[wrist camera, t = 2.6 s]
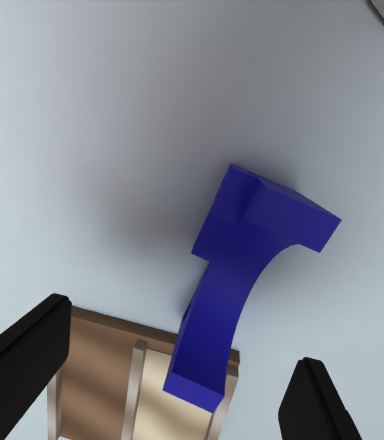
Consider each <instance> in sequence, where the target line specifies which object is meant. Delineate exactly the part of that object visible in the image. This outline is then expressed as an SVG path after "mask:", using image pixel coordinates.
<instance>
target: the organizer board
mask: <svg viewBox="0 0 384 440" xmlns="http://www.w3.org/2000/svg"><path fill="white" fill-rule="evenodd" d="M177 336H178V335H175V334H172V333H168V332H164V331H161V330H157V329H153V328H150V327H146V326H142V325H139V324H135V323H131V322H128V321H124V320H120V319H117V318H113V317H109V316H105V315H102V314H98V313H94V312H91V311H87V310H83V309H80V308H76V307H71V326H70V345H69V354H68V357H67V359H66V361H65V362H64V364H63V365H62V366H61V368H60V369H59V370H58V371H57V373H56V374H55V375H54V377H53V378H52V379H51V380H50V382H49V383H48V384H47V410H48V440H58V438H59V436H61V437H64V438H68V439H71V440H218V438H219V435H220V432H221V429H222V426H223V423H224V420H225V417H226V414H227V411H228V408H229V405H230V402H231V399H232V396H233V393H234V390H235V387H236V384H237V381H238V367H239V364H240V358H239V352H238V351H234V350H231V349H230V353H229V359H228V365H227V372H226V381H225V397H224V398H223V400H222V401H221V403H220V404H219V406H218V407H217V409H216V410H215V412H214V413H213V414H212V413H210V412H208V411H206V410H204V409H201V408H199V407H197V406H195V405H193V404H191V403H188V402H186V401H184V400H182V399H180V398H178V397H175V396H173V395H171V394H169V393H167V392H165V391H162V389H163V386H164V382H165V379H166V375H167V372H168V368H169V364H170V361H171V357H172V354H173V350H174V346H175V343H176V339H177Z"/></svg>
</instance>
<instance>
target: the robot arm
mask: <svg viewBox="0 0 384 440" xmlns="http://www.w3.org/2000/svg"><path fill="white" fill-rule="evenodd" d="M371 1H372V3H373V4H374V6H375V7H376V8H377V10H378V11H379V12H380V14H381V15H382V16H383V18H384V0H371ZM71 307H72V303H71V301H69V298H68V297H67V296H64V295H60V294H56V293H53V294H51V295H50V296H49V297H47V298H46V299H45V300H44V301H42V302H41V303H40V304H38V305H37V306H36V307H35V308H33V309H32V310H31V311H30V312H28V313H27V314H26V315H25V316H23V317H22V318H21V319H19V320H18V321H17V322H16V323H14V324H13V325H12V326H10V327H9V328H8V329H7V330H5V331H4V332H3V333H1V334H0V440H4V439H5V438H6V437H7V436H8V434H9V433H10V432H11V430H12V429H13V428H14V427H15V425H16V424H17V423H18V421H19V420H20V419H21V418H22V416H23V415H24V414H25V412H26V411H27V410H28V409H29V407H30V406H31V405H32V403H33V402H34V401H35V400H36V398H37V397H38V396H39V395H40V393H41V392H42V391H43V389H44V388H45V387H46V386H47V384H48V383H49V382H50V380H51V379H52V378H53V377H54V375H55V374H56V373H57V371H58V370H59V369H60V368H61V366H62V365H63V364H64V362H65V361H66V359H67V357H68V354H69V345H70V326H71ZM278 420H279V425H280V430H281V435H282V439H283V440H362V438H361V436H360V434H359V432H358V430H357V428H356V426H355V424H354V422H353V420H352V418H351V416H350V414H349V413H348V411H347V410H346V409H345V407H344V405H343V403H342V401H341V399H340V397H339V395H338V393H337V390H336V388H335V386H334V384H333V382H332V380H331V378H330V376H329V374H328V372H327V370H326V368H325V366H324V364H323V362H322V361H320V360H316V359H312V358H308V357H304V358H303V360H299V361H298V362H297V365H296V367H295V370H294V373H293V375H292V378H291V380H290V383H289V385H288V388H287V390H286V393H285V395H284V398H283V400H282V403H281V405H280V408H279V412H278Z"/></svg>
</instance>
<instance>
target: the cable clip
mask: <svg viewBox="0 0 384 440" xmlns="http://www.w3.org/2000/svg"><path fill="white" fill-rule="evenodd" d="M340 222H341V219H340V218H338V217H336V216H335V215H333V214H332V213H330V212H329V211H327V210H325V209H324V208H322V207H321V206H319V205H317V204H316V203H314V202H313V201H311V200H309V199H308V198H306V197H305V196H303V195H301V194H300V193H298V192H296V191H293V190H291V189H289V188H286V187H284V186H282V185H280V184H277V183H275V182H273V181H270V180H268V179H266V178H263V177H261V176H259V175H256V174H254V173H252V172H249V171H247V170H245V169H242V168H240V167H238V166H235V165H233V164H230V166H229V168H228V170H227V173H226V175H225V177H224V179H223V181H222V184H221V186H220V188H219V190H218V193H217V195H216V197H215V199H214V201H213V204H212V206H211V208H210V210H209V213H208V215H207V217H206V219H205V222H204V224H203V226H202V228H201V230H200V233H199V235H198V237H197V239H196V242H195V244H194V246H193V249H192V252H191V253H192V254H194V255H196V256H199V257H201V258H203V259H205V260H208V261H210V262H209V264H208V266H207V269H206V271H205V273H204V275H203V277H202V279H201V281H200V283H199V285H198V287H197V289H196V291H195V293H194V295H193V297H192V299H191V301H190V303H189V305H188V307H187V309H186V312H185V314H184V316H183V318H182V321H181V325H180V329H179V332H178V336H177V339H176V343H175V346H174V350H173V354H172V357H171V361H170V364H169V368H168V372H167V375H166V379H165V382H164V386H163V389H162V391H165V392H167V393H169V394H171V395H173V396H175V397H178V398H180V399H182V400H184V401H186V402H188V403H191V404H193V405H195V406H197V407H199V408H201V409H204V410H206V411H208V412H210V413H212V414H213V413H214V412H215V410H216V409H217V407H218V406H219V404H220V403H221V401H222V400H223V398H224V397H225V381H226V372H227V365H228V359H229V353H230V348H231V344H232V340H233V336H234V332H235V329H236V326H237V323H238V320H239V317H240V314H241V311H242V309H243V306H244V304H245V302H246V299H247V297H248V295H249V293H250V291H251V289H252V287H253V285H254V283H255V282H256V280H257V278H258V277H259V275H260V274H261V272H262V271H263V269H264V268H265V267H266V266H267V264H268V263H269V262H270V261H271V260H272V259H273V258H274V257H275V256H276V255H277V254H278V253H279V252H281V251H282V250H284V249H285V248H287V247H289V246H291V245H294V244H301V245H303V246H305V247H307V248H310V249H312V250H314V251H317V252H319V253H320V252H321V250H322V249H323V247H324V246H325V244H326V243H327V241H328V240H329V238H330V237H331V235H332V234H333V232H334V231H335V229H336V228H337V226H338V225H339V223H340Z"/></svg>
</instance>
